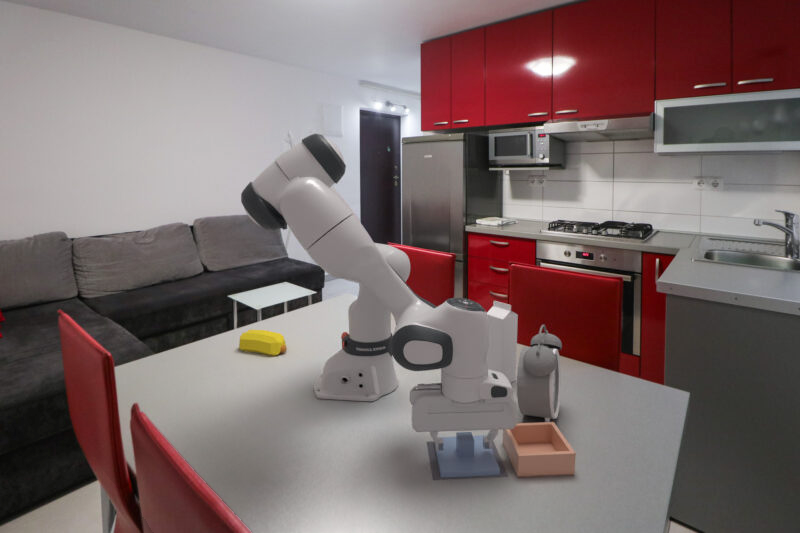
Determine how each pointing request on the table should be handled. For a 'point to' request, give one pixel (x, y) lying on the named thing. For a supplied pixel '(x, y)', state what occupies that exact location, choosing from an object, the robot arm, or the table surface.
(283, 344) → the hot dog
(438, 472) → the mat
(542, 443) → the dish
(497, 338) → the milk
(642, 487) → the table surface
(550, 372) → the alarm clock
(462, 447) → the lid
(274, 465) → the table surface
